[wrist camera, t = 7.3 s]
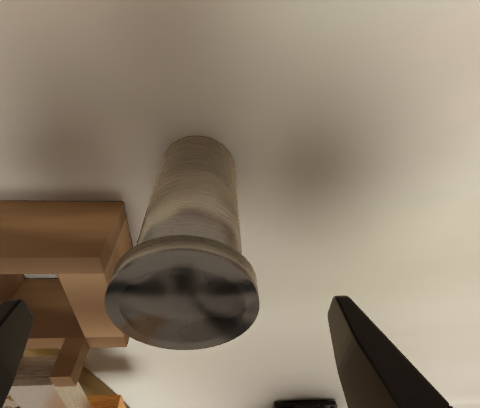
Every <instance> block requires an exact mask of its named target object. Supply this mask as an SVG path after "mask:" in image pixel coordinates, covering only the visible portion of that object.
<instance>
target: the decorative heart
mask: <svg viewBox="0 0 480 408" xmlns="http://www.w3.org/2000/svg"><path fill="white" fill-rule="evenodd" d="M60 350H61V349H60V348H48V349H25V351H24V354H23V357H38V356H58V354H59V352H60ZM78 382H79V384H80V386H81V388H82V389H83V391H84V393H85V395H86V396H101V395H117V394H116V393H115V392H113V391H112V390H111V389H110V388H109V387H108V386H107V385H105V384H104V383H103V382H102V381H101V380H100V379H98V378H97V377H96V376H95V375H94V374H92V373H91V372H90V371H89V370H87V369H86V368H85V367H84V366H83V368H82V371H81V373H80V376H79V379H78ZM124 404H125V406H126V408H129V406H128V405H127V404H126V403H125V402H124ZM2 408H20V406H19V405H18V404H17V403H16V402H15V401H14V400H13V398H12V397H11V396H10V395H9V394H8V396H7V398H6V401H5V403H4V405H3V407H2Z"/></svg>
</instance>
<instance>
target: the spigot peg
mask: <svg viewBox="0 0 480 408" xmlns="http://www.w3.org/2000/svg"><path fill="white" fill-rule="evenodd" d="M104 306H105V310H106V313H107V315H108V317H109V319H110V320H111V321H112V323H113V324H114V325H115V326H116V327H117V328H118V329H119V330H121V331H122V332H123V333H125V334H126V335H128V336H129V337H131V338H133V339H135V340H137V341H140V342H142V343H145V344H148V345H152V346H156V347H160V348H166V349H175V350H194V349H203V348H209V347H213V346H217V345H220V344H223V343H226V342H228V341H230V340H233V339H235V338H236V337H238V336H240V335H241V334H242V333H244V332H245V331H246V330H247V329H248V328H249V327H250V326H251V325H252V324H253V322H254V321H255V319H256V317H257V315H258V311H259V296H258V288H257V280H256V275H255V272H254V270H253V268H252V266H251V264H250V263H249V262H248V260H247V259H246V258H245V257H244V256H243V255H242V252H241V239H240V226H239V213H238V200H237V187H236V174H235V164H234V160H233V157H232V156H231V154H230V152H229V151H228V150H227V149H226V147H225V146H223V145H222V144H221V143H219V142H218V141H216V140H214V139H211V138H208V137H203V136H190V137H185V138H182V139H180V140H178V141H176V142H175V143H173V144H172V145H171V146H170V147H169V148H168V149H167V151H166V152H165V154H164V156H163V159H162V163H161V166H160V169H159V173H158V176H157V179H156V182H155V186H154V189H153V192H152V195H151V199H150V202H149V205H148V208H147V212H146V215H145V218H144V221H143V225H142V228H141V231H140V235H139V238H138V241H137V244H136V246H135V247H133V248H132V249H130V250H129V251H127V252H126V253H125V254H124V255H123V256H122V257H121V258H120V260H119V261H118V262H117V264H116V266H115V268H114V271H113V273H112V276H111V279H110V282H109V285H108V287H107V290H106V293H105V298H104Z"/></svg>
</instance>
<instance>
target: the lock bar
mask: <svg viewBox="0 0 480 408" xmlns="http://www.w3.org/2000/svg"><path fill="white" fill-rule="evenodd" d="M57 357H58V356H38V357H22V360H21V363H20V366H19V369H18V372H17V375H16V377H15V380H14V382H13V385H12V387H11V389H10V392H9V395H10V396H11V397H12V398H13V400H14V401H15V402H16V403H17V404H18V405H19V406H20V408H126V406H125V404H124V401H123V399H122V396H121V395H101V396H86V395H85V393H84V391H83V389H82V388H81V386H80V384H79V382H77V385H76V386H69V387H55V386H54V384H53V383H52V381H51V380H50V378H49V375H50V373H51V371H52V368H53V366H54V364H55V361H56V359H57Z"/></svg>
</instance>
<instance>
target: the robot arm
mask: <svg viewBox="0 0 480 408" xmlns="http://www.w3.org/2000/svg"><path fill="white" fill-rule="evenodd" d="M33 322H34V317H33V314H32V312H31V311H30V309H29V307H28V305H27V304H26V302H25V301H24V300H23V299H8V300H5V301H4V302H2V303H1V304H0V408H2V407H3V405H4V403H5V401H6V398H7V396H8V394H9V392H10V389H11V387H12V385H13V382H14V380H15V377H16V375H17V372H18V369H19V366H20V363H21V360H22V357H23V354H24V351H25V348H26V344H27V341H28V338H29V335H30V332H31V329H32V326H33ZM328 322H329V327H330V333H331V338H332V344H333V349H334V355H335V360H336V365H337V370H338V374H339V378H340V381H341V385H342V388H343V391H344V395H345V398H346V402H347V405H348V408H453V407H452V406H449V403H448V402H447V401H446V400H445V399H444V398H443V396H442V395H441V394H440V393H439V392H438V391H437V390H436V389H435V388H434V387H433V386H432V385H431V384H430V383H429V382H428V381H427V379H426V378H425V377H424V376H423V375H422V374H421V373H420V372H419V371H418V370H417V369H416V368H415V367H414V366H413V365H412V363H411V362H410V361H409V360H408V359H407V358H406V357H405V356H404V355H403V354H402V353H401V352H400V351H399V350H398V349H397V348H396V346H395V345H394V344H393V343H392V342H391V341H390V340H389V339H388V338H387V337H386V336H385V335H384V334H383V333H382V332H381V330H380V329H379V328H378V327H377V326H376V325H375V324H374V323H373V322H372V321H371V320H370V319H369V318H368V317H367V316H366V315H365V313H364V312H363V311H362V310H361V309H360V308H359V307H358V306H357V305H356V304H355V303H354V302H353V301H352V300H351V299H350V298H349V297H348V296H335V297H333V299H332V302H331V305H330V308H329V311H328ZM273 408H337V404H336V401H310V402H281V403H275V404H274V405H273Z"/></svg>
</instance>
